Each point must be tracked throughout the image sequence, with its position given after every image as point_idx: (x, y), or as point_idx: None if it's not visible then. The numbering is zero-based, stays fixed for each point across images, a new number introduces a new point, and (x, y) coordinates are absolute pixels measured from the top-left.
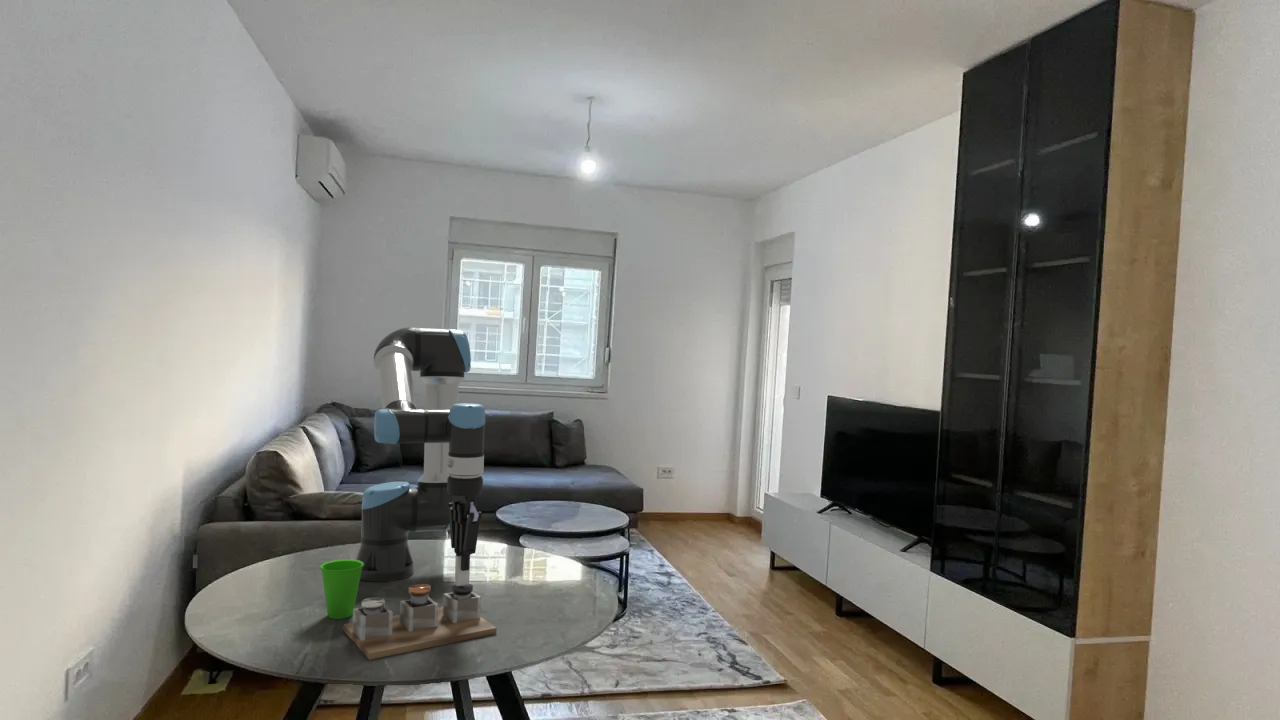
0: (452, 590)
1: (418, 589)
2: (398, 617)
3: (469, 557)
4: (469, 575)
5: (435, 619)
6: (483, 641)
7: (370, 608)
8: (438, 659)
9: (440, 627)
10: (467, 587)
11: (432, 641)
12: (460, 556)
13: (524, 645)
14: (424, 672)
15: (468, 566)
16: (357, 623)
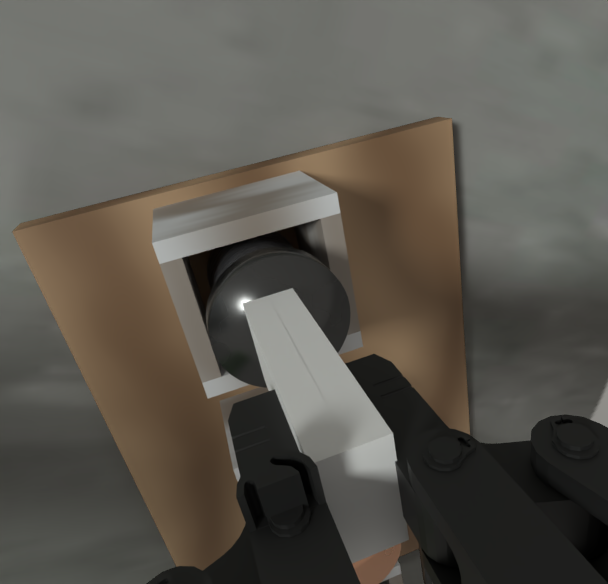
0: None
1: (385, 560)
2: (183, 500)
3: (443, 425)
4: (311, 315)
5: None
6: (488, 189)
7: None
8: (550, 348)
9: (353, 351)
10: (317, 296)
11: (465, 375)
12: (399, 513)
13: (602, 28)
14: (603, 382)
15: (398, 376)
16: None
